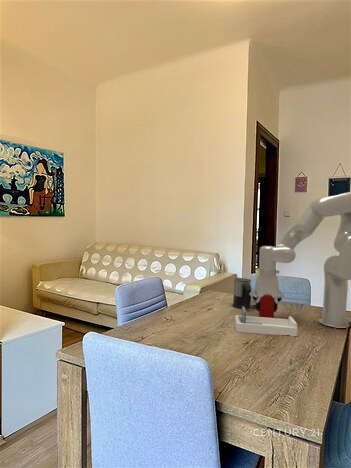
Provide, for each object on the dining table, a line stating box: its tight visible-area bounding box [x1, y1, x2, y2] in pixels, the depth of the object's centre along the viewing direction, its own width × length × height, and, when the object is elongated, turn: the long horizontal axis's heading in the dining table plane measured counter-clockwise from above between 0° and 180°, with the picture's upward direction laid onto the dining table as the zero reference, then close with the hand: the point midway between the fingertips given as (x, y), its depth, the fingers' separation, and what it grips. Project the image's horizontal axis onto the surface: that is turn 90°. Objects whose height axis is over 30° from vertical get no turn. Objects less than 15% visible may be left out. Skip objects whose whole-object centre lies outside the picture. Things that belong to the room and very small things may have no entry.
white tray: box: [234, 314, 298, 337], centre depth 137 cm, size 24×12×5 cm, turn 83°
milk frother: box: [232, 277, 256, 310], centre depth 171 cm, size 14×16×15 cm
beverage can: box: [258, 294, 275, 318], centre depth 150 cm, size 7×7×12 cm
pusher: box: [241, 306, 263, 325], centre depth 137 cm, size 8×9×7 cm
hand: (266, 310), depth 150 cm, fingers closed on beverage can, 6 cm apart
